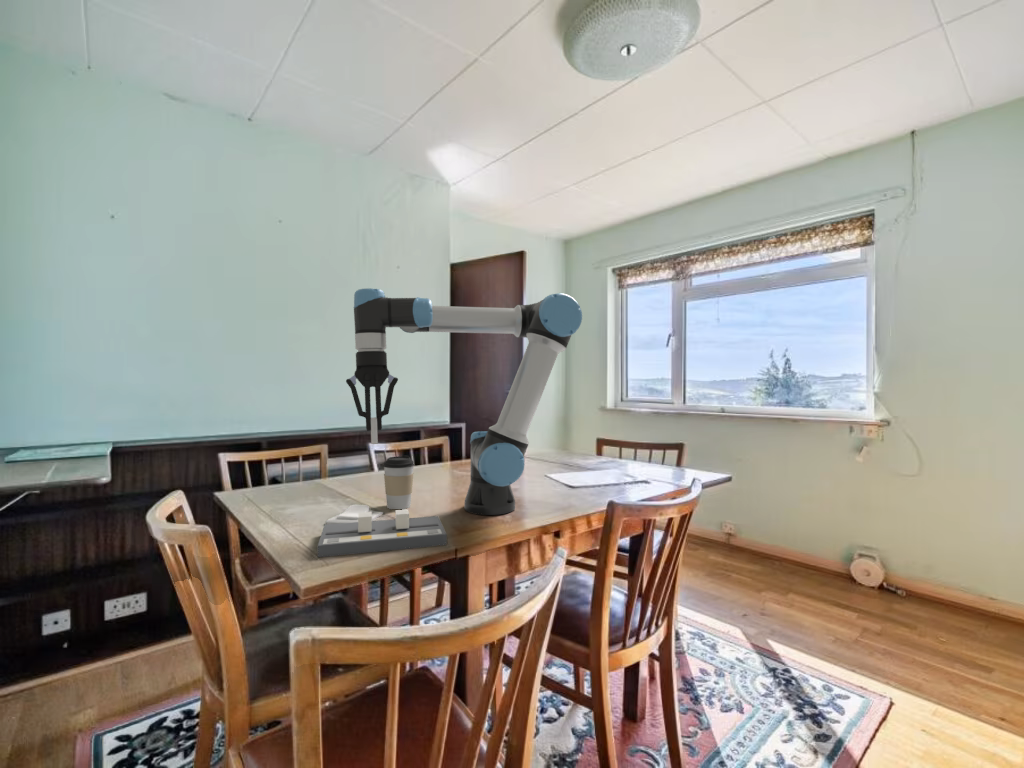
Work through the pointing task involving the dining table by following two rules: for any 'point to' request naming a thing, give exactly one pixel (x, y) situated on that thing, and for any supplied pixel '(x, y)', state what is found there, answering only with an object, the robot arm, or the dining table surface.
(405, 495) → the coffee cup
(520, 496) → the dining table surface
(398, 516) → the slide switch
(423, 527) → the switch panel
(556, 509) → the dining table surface
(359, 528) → the slide switch
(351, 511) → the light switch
